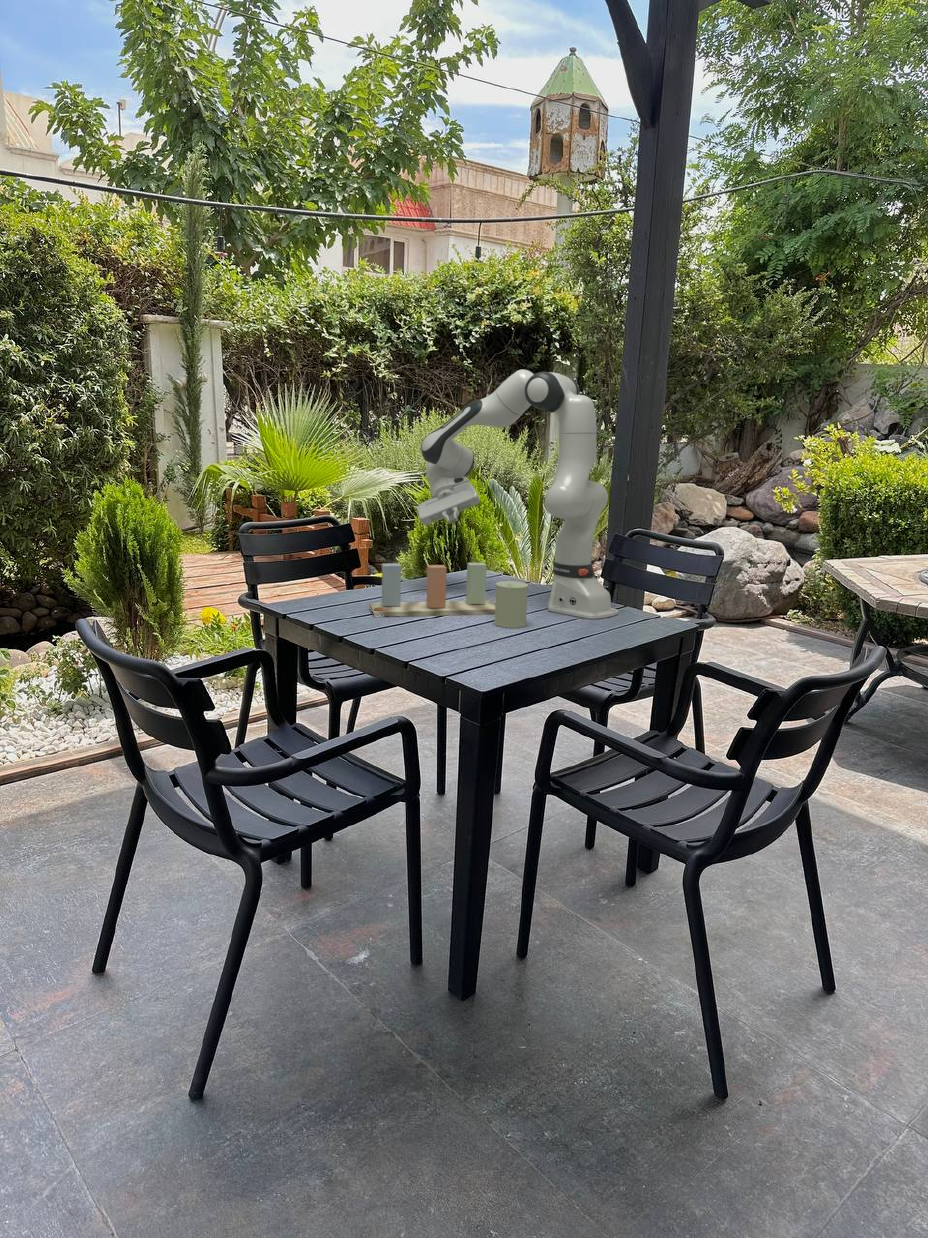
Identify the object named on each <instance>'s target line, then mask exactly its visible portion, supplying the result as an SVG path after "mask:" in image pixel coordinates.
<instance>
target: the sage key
mask: <svg viewBox="0 0 928 1238" xmlns="http://www.w3.org/2000/svg"><path fill="white" fill-rule="evenodd" d="M466 566H467V567H466V593H465V595H466V597H465V599H466V600H465V601H466V602H467V603H468V604H485V600H486V594H487V593H486V592H487V566H488V565H487V564H486V563H485V562H467V565H466Z"/></svg>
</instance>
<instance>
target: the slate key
mask: <svg viewBox="0 0 928 1238" xmlns="http://www.w3.org/2000/svg"><path fill="white" fill-rule="evenodd" d="M401 580H402V566H401V564H400V563H397V562H396V563H394V562H391V563H381V603H382V604H383V606H400V602H402V601H401V593H402V592H401V582H402V581H401Z"/></svg>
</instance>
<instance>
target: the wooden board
mask: <svg viewBox="0 0 928 1238" xmlns="http://www.w3.org/2000/svg"><path fill="white" fill-rule="evenodd" d="M426 603H427V601H401V602H400V606H383V604H382V602H369V606H370V608H371V610H372V612H373V614H374V616H377V615H381V616H383V615H384V616H408V617H435V616H436V617H437V616H438V617H443V616H444V617H445V616H446V617H447V616H476V615H477V616H480V615H495V604H496V602H494V601H493V600H492V599H488V600H487V599H485V604H468V603H467V602H466V600H448V601H447V600H446V607H445V608H429V607H428V606H427V605H426ZM370 608H369V609H370ZM371 610H370V611H371ZM372 612H371V613H372ZM373 614H372V615H373ZM374 616H373V617H374Z"/></svg>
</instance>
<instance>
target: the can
mask: <svg viewBox="0 0 928 1238" xmlns="http://www.w3.org/2000/svg"><path fill="white" fill-rule="evenodd" d="M528 591H529V584H528V583H526V582H522V581H515V580H514V581H513V580H501V581H498V582H496V583H495V614H494V622H493V624H494V625H495V626H497V627H502V628H508V629H518V628H519V629H520V628H524V627H525V626H527V612H528V611H527V610H528V607H527V606H528Z"/></svg>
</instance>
